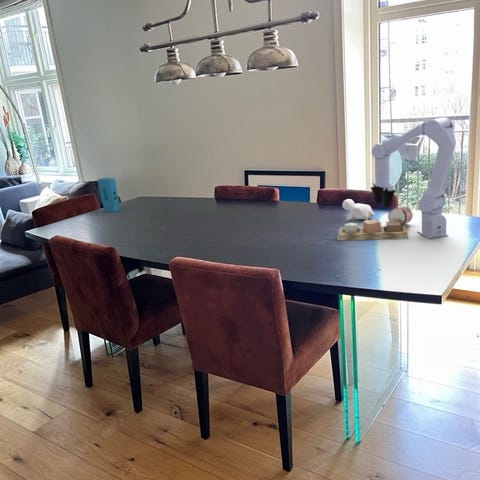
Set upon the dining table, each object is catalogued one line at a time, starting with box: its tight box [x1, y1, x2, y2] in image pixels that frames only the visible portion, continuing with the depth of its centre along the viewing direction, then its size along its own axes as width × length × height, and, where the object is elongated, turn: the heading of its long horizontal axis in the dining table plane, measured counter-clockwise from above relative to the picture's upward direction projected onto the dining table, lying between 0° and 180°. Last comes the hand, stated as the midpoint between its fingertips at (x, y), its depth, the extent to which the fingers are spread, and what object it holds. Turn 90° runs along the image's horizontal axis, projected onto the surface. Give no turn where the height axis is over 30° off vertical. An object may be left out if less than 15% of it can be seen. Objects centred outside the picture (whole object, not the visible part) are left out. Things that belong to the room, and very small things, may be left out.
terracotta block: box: [362, 218, 382, 233], centre depth 189 cm, size 5×5×5 cm
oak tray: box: [337, 225, 409, 241], centre depth 190 cm, size 27×10×2 cm, turn 76°
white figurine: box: [342, 198, 376, 221], centre depth 215 cm, size 8×8×15 cm
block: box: [97, 177, 120, 213], centre depth 290 cm, size 12×5×20 cm, turn 51°
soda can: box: [387, 206, 414, 226], centre depth 195 cm, size 7×7×12 cm
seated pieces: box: [344, 221, 401, 233], centre depth 189 cm, size 21×5×4 cm, turn 76°
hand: (382, 204), depth 197 cm, fingers open, 7 cm apart
